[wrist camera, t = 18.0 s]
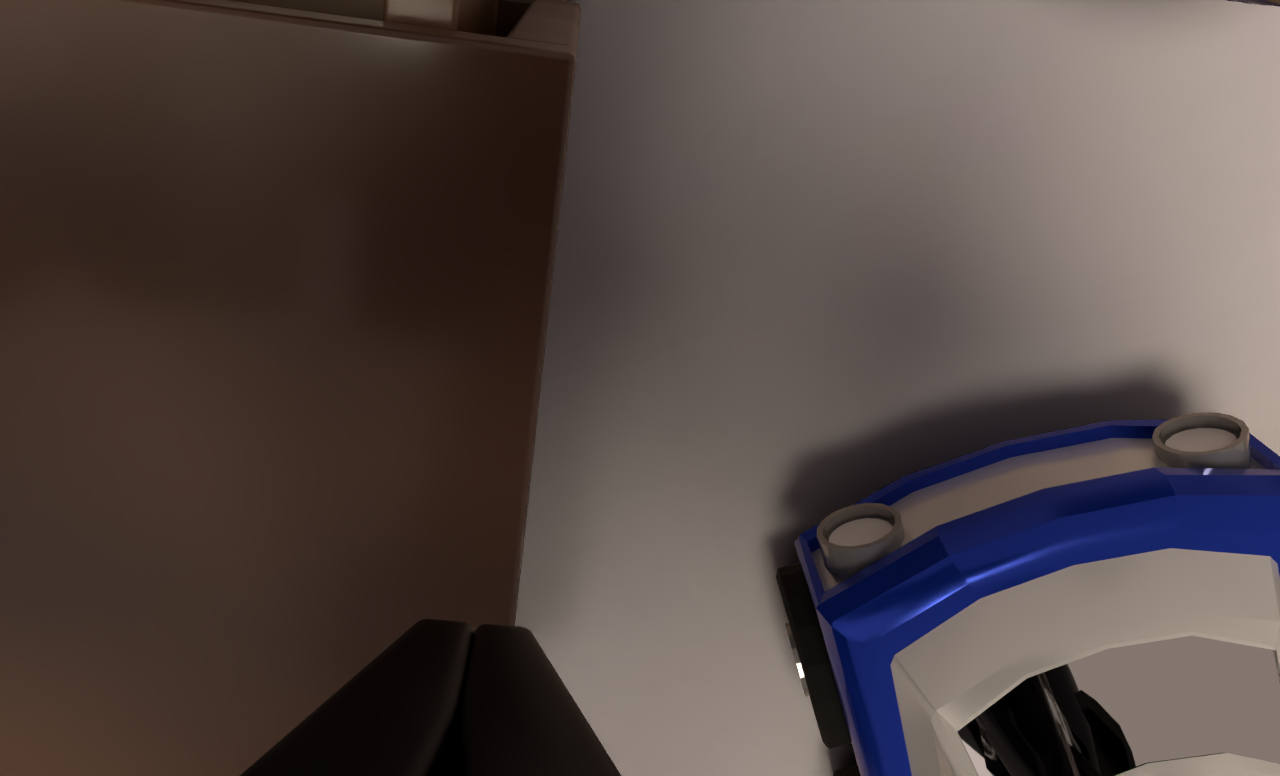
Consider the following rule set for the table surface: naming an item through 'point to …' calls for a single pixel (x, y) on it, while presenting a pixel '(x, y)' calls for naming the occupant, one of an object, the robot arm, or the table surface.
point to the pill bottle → (1260, 2)
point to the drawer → (405, 12)
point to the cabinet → (259, 359)
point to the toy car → (1053, 608)
